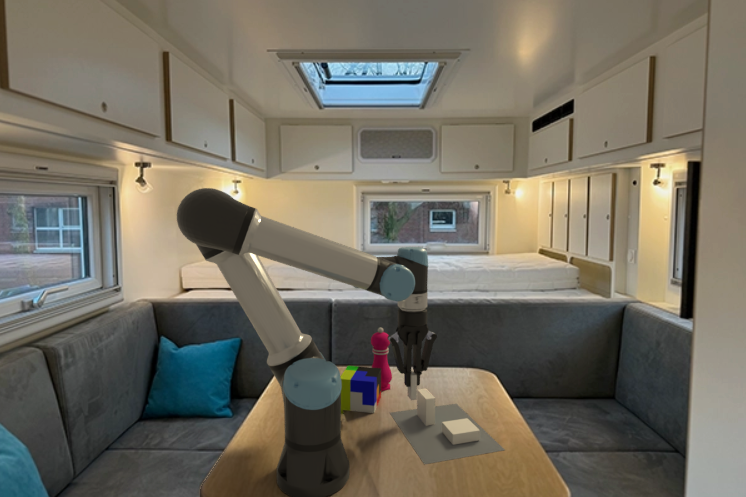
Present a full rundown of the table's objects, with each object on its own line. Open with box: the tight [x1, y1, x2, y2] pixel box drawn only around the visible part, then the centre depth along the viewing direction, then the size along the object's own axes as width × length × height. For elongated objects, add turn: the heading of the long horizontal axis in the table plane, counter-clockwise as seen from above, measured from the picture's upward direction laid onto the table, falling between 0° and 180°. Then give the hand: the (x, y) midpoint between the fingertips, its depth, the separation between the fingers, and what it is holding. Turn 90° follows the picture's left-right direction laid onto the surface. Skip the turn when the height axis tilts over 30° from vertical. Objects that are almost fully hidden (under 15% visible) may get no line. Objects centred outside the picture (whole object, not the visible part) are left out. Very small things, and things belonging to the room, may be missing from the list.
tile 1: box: [416, 388, 436, 426], centre depth 109 cm, size 6×3×7 cm, turn 16°
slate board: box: [389, 403, 506, 465], centre depth 104 cm, size 24×20×1 cm
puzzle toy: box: [340, 365, 382, 415], centre depth 118 cm, size 10×10×10 cm
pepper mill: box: [370, 327, 393, 392], centre depth 129 cm, size 7×7×20 cm
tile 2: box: [442, 418, 480, 445], centre depth 101 cm, size 6×3×7 cm
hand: (412, 397), depth 108 cm, fingers closed
